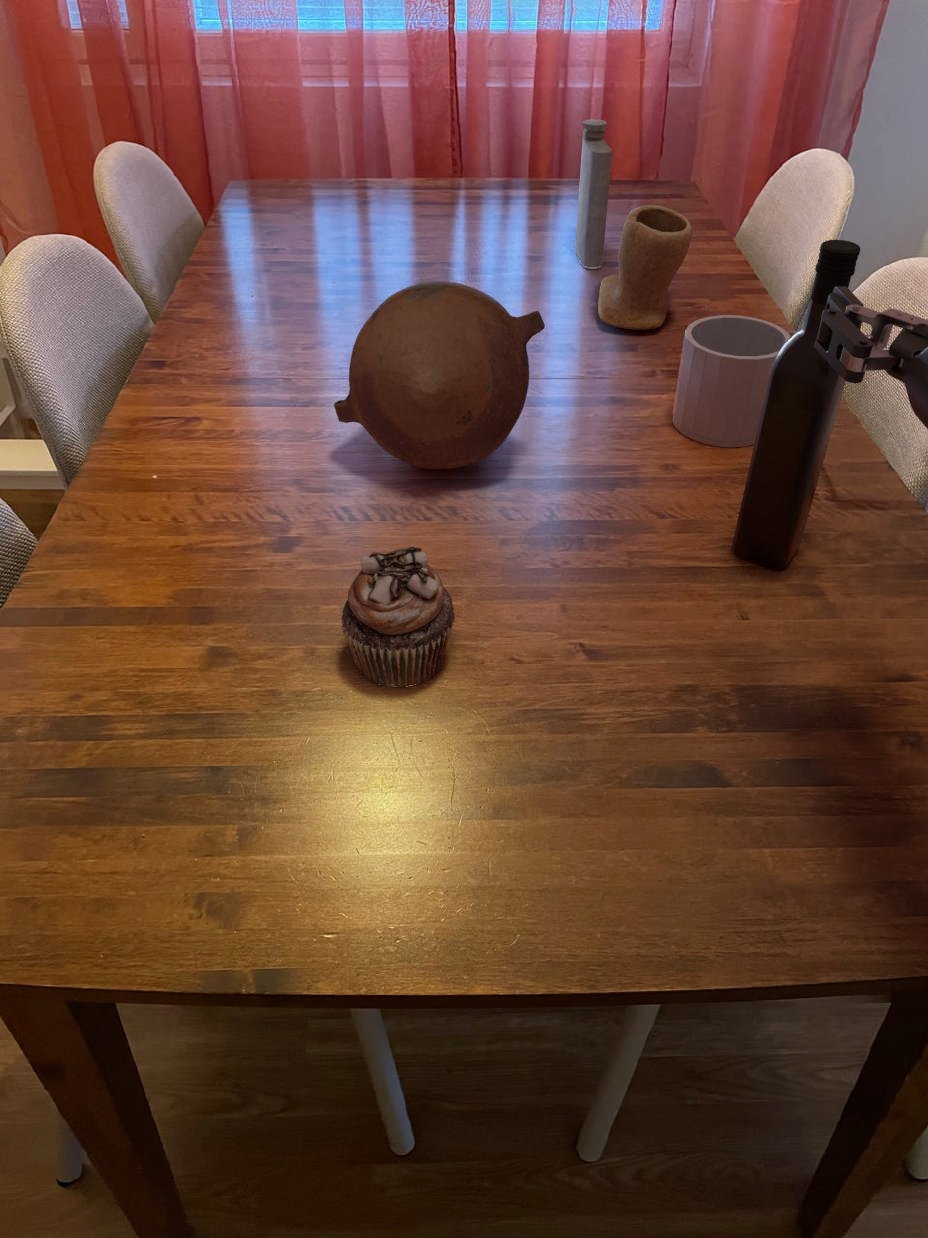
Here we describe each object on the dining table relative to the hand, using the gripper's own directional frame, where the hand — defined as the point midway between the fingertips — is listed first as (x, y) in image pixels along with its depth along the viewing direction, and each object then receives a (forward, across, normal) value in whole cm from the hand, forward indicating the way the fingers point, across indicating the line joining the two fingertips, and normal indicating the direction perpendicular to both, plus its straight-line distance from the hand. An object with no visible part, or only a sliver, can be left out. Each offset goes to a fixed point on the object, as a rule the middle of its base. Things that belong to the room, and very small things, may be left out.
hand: (894, 298), depth 67 cm
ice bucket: (+37, -2, +30) cm, 48 cm away
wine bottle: (+11, 0, +30) cm, 32 cm away
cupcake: (-3, +36, +30) cm, 47 cm away
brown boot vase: (+70, +2, +30) cm, 76 cm away
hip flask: (+96, +6, +30) cm, 101 cm away
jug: (+37, +31, +30) cm, 57 cm away
